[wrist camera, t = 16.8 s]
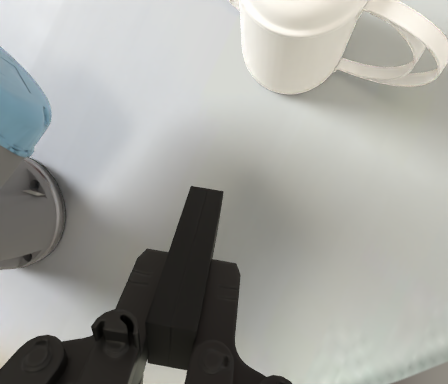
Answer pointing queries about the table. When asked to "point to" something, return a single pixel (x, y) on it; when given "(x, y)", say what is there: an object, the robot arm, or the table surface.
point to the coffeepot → (328, 42)
